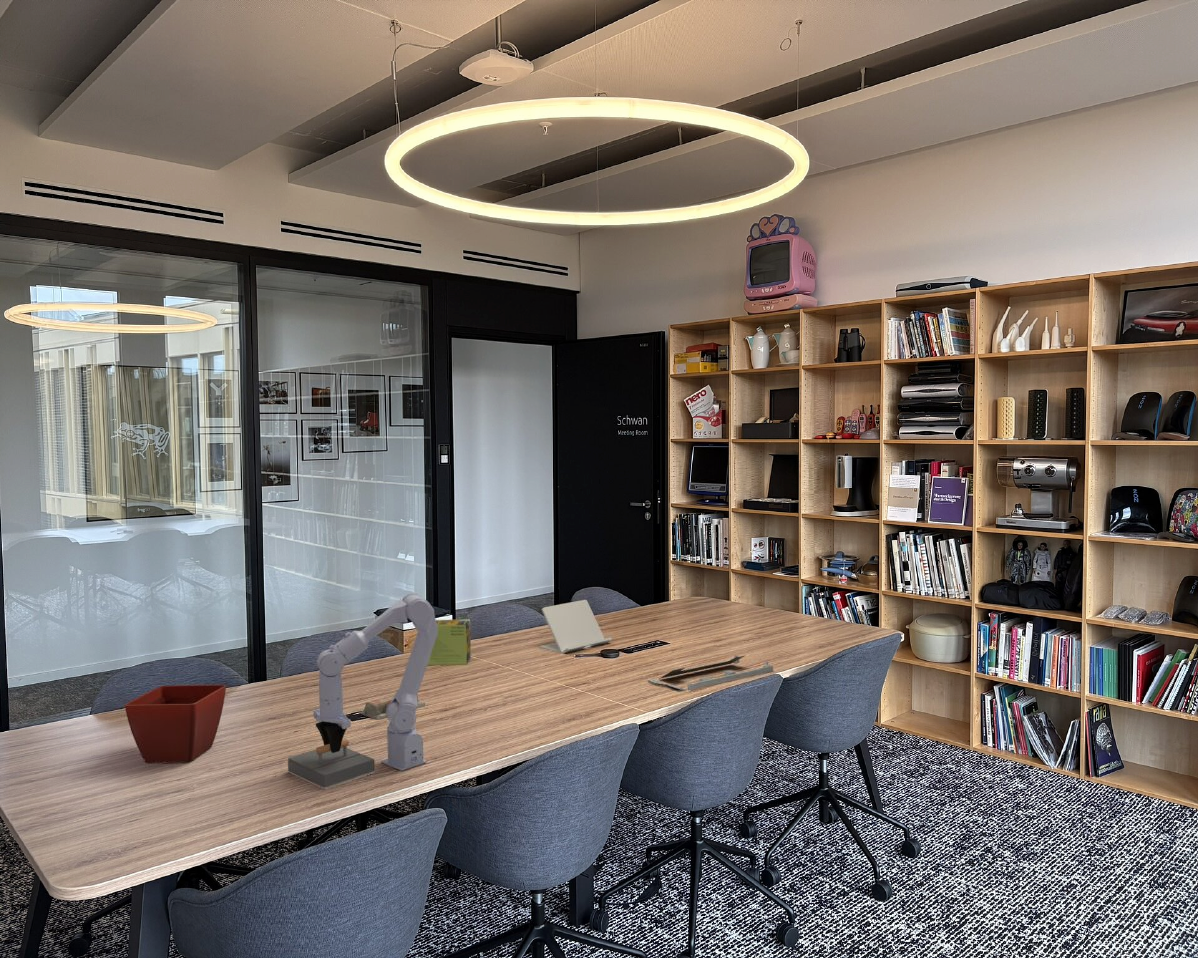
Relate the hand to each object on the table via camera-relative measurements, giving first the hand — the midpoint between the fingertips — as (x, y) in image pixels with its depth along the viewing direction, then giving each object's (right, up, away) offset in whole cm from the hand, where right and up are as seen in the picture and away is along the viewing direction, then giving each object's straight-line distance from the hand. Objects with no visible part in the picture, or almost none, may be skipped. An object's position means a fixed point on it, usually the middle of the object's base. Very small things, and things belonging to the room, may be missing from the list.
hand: (332, 750), depth 223 cm
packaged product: (+3, -4, +53) cm, 54 cm away
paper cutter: (+107, -1, +86) cm, 138 cm away
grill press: (-3, -3, +3) cm, 5 cm away
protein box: (+10, -1, +114) cm, 114 cm away
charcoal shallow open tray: (-1, -6, +1) cm, 6 cm away
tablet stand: (+59, 0, +137) cm, 149 cm away
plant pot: (-47, -6, +16) cm, 50 cm away
